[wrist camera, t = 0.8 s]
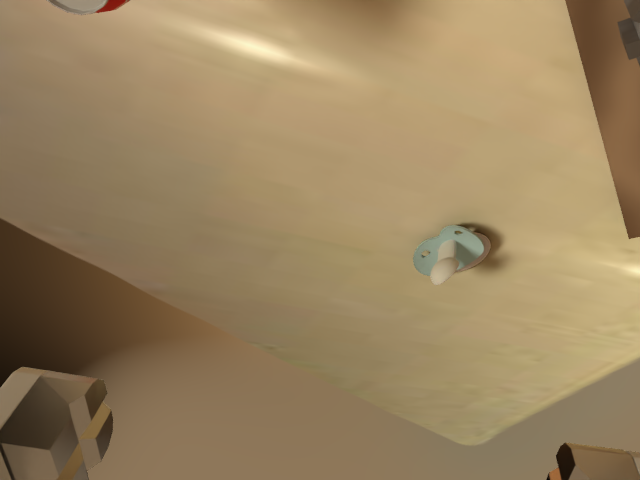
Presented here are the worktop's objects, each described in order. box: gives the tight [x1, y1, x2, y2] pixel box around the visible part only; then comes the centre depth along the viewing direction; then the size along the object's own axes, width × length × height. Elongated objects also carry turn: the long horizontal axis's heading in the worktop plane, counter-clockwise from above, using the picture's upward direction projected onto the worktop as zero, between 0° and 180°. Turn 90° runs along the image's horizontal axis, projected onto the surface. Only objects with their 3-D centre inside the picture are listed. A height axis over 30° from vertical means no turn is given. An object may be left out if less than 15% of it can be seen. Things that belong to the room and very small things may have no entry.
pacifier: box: [413, 225, 491, 285], centre depth 55 cm, size 7×6×6 cm
